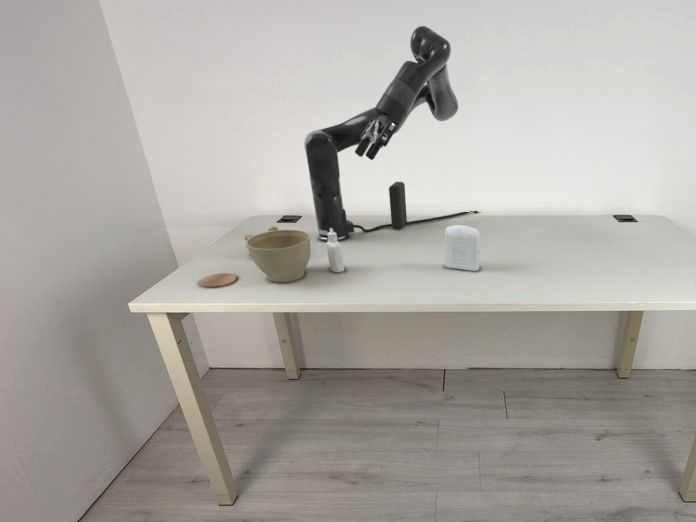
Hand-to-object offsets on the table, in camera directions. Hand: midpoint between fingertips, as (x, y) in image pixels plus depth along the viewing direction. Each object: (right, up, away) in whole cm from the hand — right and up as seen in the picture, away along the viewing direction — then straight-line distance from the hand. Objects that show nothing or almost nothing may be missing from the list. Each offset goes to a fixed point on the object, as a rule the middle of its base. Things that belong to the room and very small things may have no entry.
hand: (363, 156), depth 124 cm
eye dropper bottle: (-10, -28, +12) cm, 32 cm away
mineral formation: (-33, -22, +22) cm, 45 cm away
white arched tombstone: (+26, -27, +13) cm, 40 cm away
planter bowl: (-23, -31, +7) cm, 39 cm away
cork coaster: (-40, -32, +4) cm, 52 cm away
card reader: (+3, -6, +49) cm, 49 cm away
